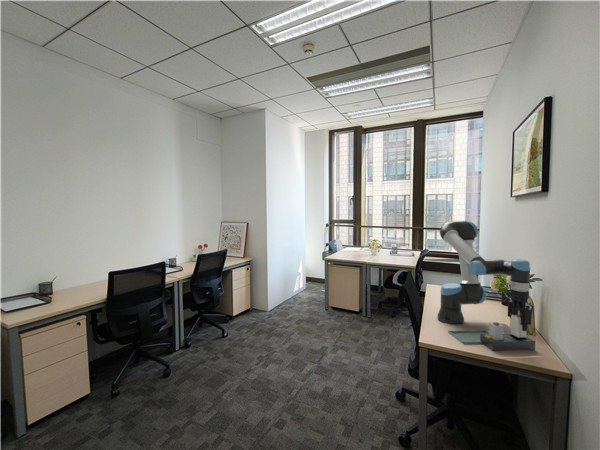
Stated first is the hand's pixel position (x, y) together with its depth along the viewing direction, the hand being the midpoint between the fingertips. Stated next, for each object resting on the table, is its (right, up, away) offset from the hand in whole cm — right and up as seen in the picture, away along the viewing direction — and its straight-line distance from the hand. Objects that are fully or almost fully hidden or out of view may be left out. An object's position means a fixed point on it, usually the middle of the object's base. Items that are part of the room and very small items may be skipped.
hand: (518, 334), depth 141 cm
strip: (-6, -7, 0) cm, 9 cm away
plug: (0, -1, 0) cm, 1 cm away
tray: (-16, -6, +10) cm, 20 cm away
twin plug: (-12, -5, 0) cm, 13 cm away
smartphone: (+9, -6, +22) cm, 24 cm away
